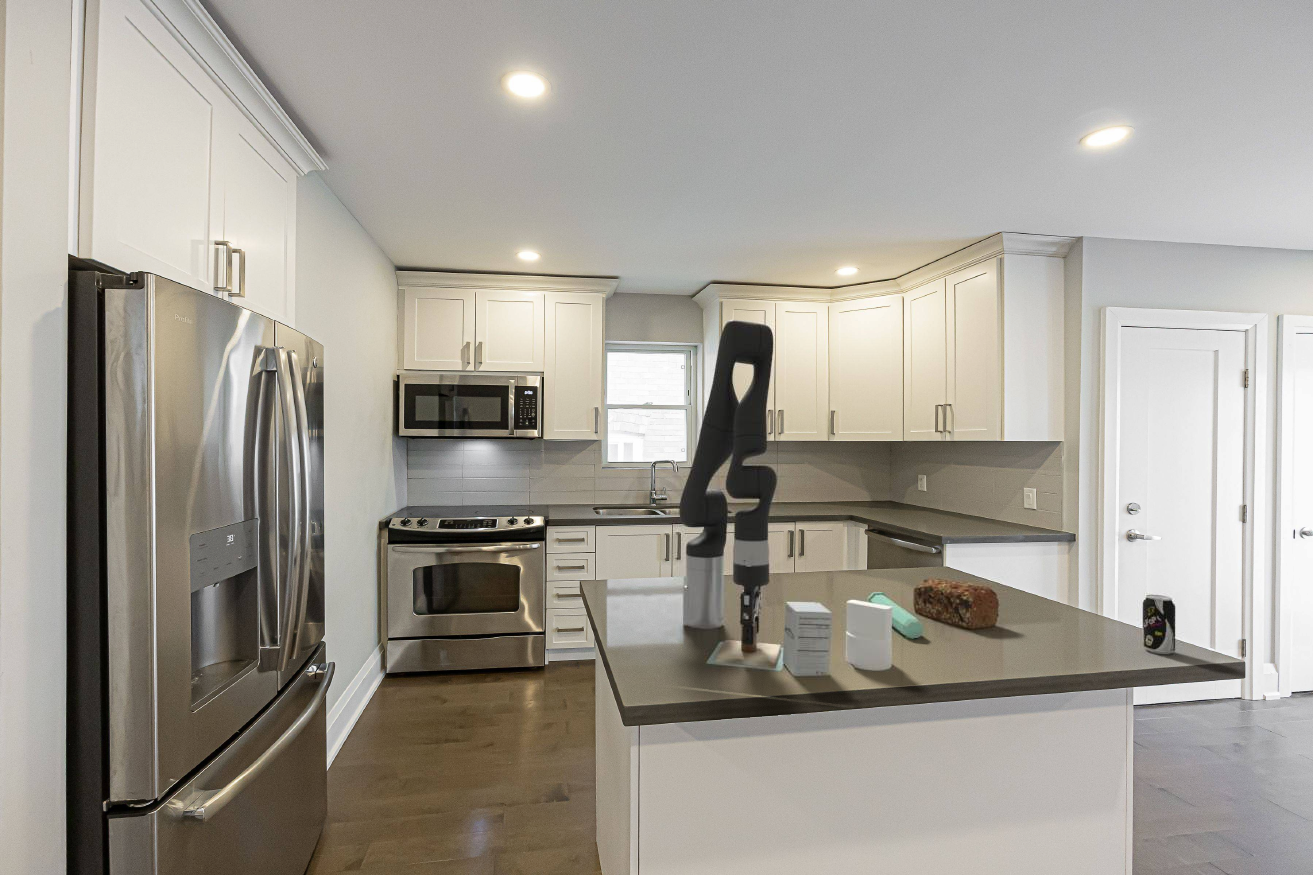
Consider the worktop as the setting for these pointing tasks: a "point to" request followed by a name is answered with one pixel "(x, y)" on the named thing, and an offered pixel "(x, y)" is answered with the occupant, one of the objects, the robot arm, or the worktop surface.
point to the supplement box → (807, 638)
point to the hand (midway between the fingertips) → (751, 638)
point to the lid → (748, 652)
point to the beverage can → (1158, 624)
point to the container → (899, 616)
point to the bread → (956, 603)
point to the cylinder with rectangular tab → (868, 635)
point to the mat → (777, 667)
